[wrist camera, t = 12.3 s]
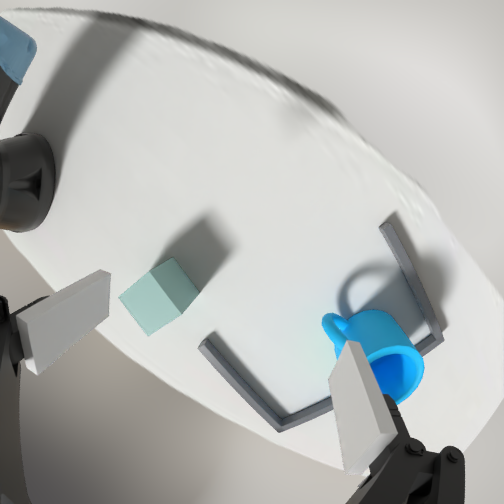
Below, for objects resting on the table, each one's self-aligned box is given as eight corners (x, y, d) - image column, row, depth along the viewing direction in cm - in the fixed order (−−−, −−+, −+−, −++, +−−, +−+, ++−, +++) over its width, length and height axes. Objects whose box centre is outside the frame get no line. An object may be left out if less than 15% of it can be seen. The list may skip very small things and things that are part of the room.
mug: (410, 332, 29) (437, 368, 21) (364, 378, 31) (379, 421, 23) (344, 275, 29) (363, 304, 21) (295, 329, 31) (296, 371, 23)
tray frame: (201, 342, 32) (197, 348, 31) (385, 222, 27) (390, 223, 25) (279, 425, 34) (278, 432, 32) (439, 335, 29) (444, 340, 27)
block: (144, 280, 32) (118, 297, 26) (173, 256, 30) (149, 271, 25) (169, 313, 32) (148, 336, 26) (200, 292, 31) (181, 314, 25)
